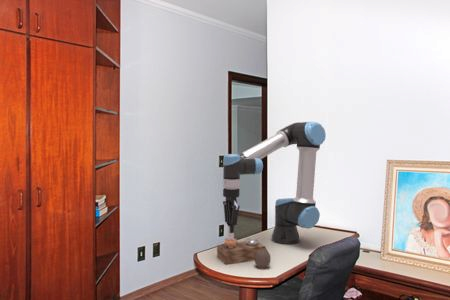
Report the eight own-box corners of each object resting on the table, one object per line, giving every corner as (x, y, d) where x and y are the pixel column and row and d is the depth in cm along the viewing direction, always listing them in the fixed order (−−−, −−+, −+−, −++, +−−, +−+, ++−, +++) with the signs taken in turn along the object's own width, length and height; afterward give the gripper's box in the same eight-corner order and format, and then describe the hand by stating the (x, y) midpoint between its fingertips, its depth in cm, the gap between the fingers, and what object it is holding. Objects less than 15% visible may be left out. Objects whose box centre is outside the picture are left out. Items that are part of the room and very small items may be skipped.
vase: (271, 269, 156) (272, 249, 156) (256, 269, 155) (256, 249, 155) (268, 263, 163) (269, 244, 162) (253, 264, 162) (253, 244, 162)
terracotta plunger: (233, 251, 171) (233, 237, 171) (238, 254, 166) (238, 240, 165) (222, 252, 168) (222, 238, 168) (227, 256, 163) (227, 242, 163)
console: (254, 252, 178) (254, 240, 178) (265, 258, 169) (265, 246, 169) (217, 257, 170) (217, 245, 170) (226, 264, 161) (226, 251, 161)
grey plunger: (253, 251, 175) (254, 237, 175) (259, 254, 170) (259, 241, 170) (243, 252, 173) (243, 239, 173) (249, 256, 168) (249, 242, 168)
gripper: (218, 186, 170) (217, 236, 171) (229, 190, 158) (229, 244, 159) (232, 185, 173) (231, 234, 174) (245, 189, 162) (244, 242, 162)
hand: (230, 239), depth 167 cm, fingers closed
